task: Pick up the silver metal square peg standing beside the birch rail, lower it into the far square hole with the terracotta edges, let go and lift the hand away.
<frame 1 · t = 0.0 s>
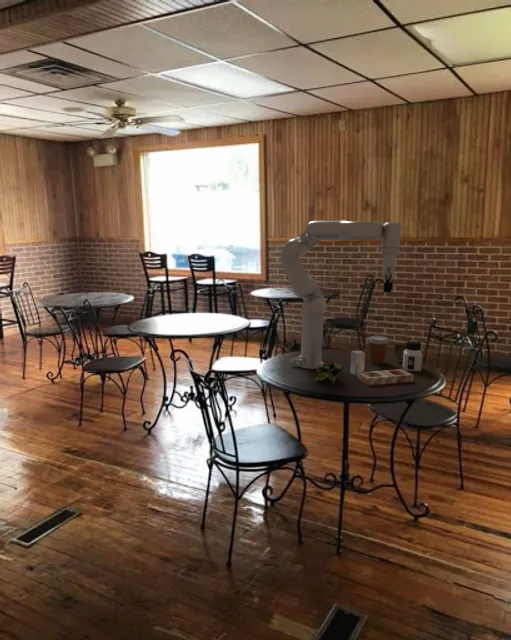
hand: (387, 290, 233), 37 cm above the table, tool pointing down, fingers open, 9 cm apart
rail: (384, 380, 229), on the table
peg: (356, 373, 238), on the table
cup: (400, 361, 259), on the table
container: (411, 369, 247), on the table
disposable coffee cup: (377, 362, 257), on the table
passion flower: (329, 382, 225), on the table
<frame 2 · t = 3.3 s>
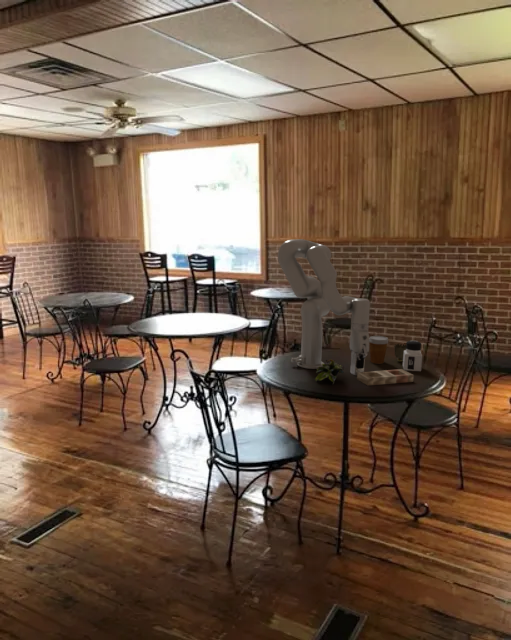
hand: (357, 366, 237), 3 cm above the table, tool pointing down, fingers closed on peg, 4 cm apart
peg: (356, 373, 238), on the table, touching gripper
everything else where it was.
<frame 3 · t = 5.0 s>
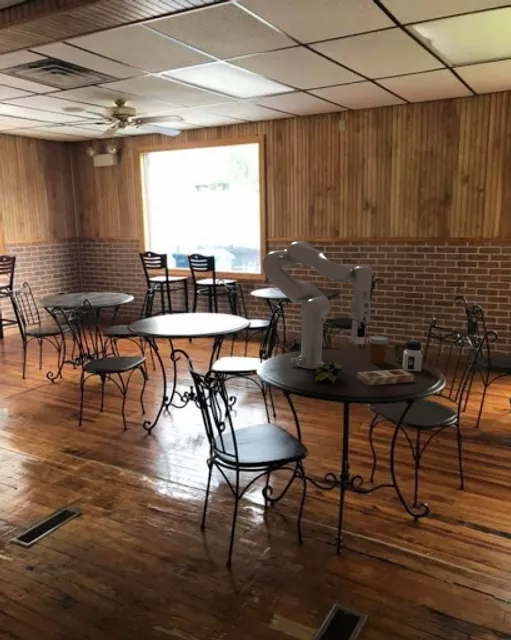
hand: (358, 335, 235), 18 cm above the table, tool pointing down, fingers closed on peg, 4 cm apart
peg: (357, 342, 235), point 14 cm above the table, touching gripper
everything else where it was.
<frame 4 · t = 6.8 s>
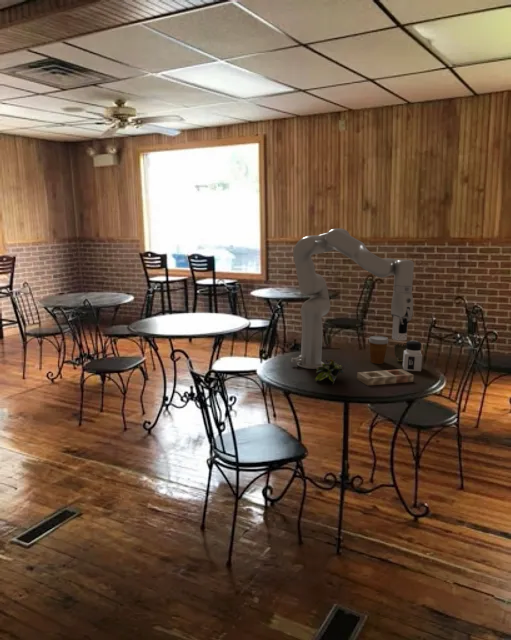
hand: (399, 331, 226), 21 cm above the table, tool pointing down, fingers closed on peg, 4 cm apart
peg: (399, 339, 227), point 18 cm above the table, touching gripper
everything else where it was.
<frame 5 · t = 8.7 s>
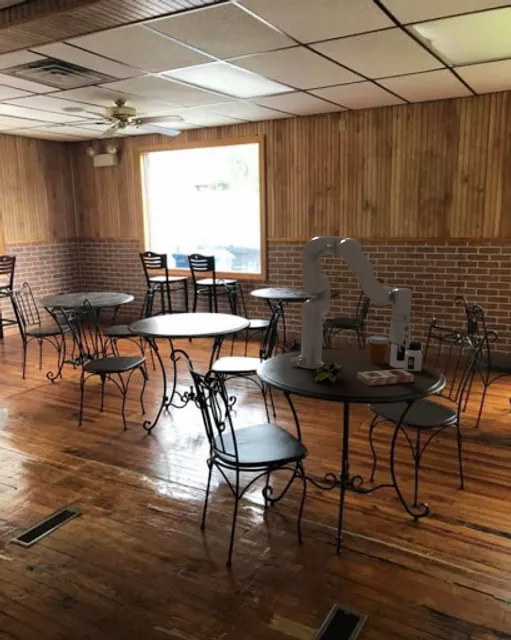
hand: (397, 358, 228), 9 cm above the table, tool pointing down, fingers closed on peg, 4 cm apart
peg: (397, 366, 229), point 6 cm above the table, touching gripper
everything else where it was.
when the fingers open (4 cm above the table, at t = 10.1 s): peg drops 1 cm, resting in rail.
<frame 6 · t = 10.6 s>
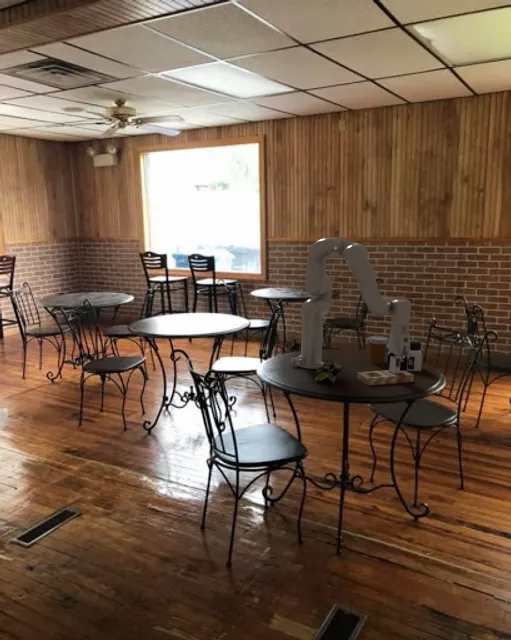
hand: (396, 367, 229), 5 cm above the table, tool pointing down, fingers open, 9 cm apart
peg: (396, 379, 230), resting in rail
everything else where it was.
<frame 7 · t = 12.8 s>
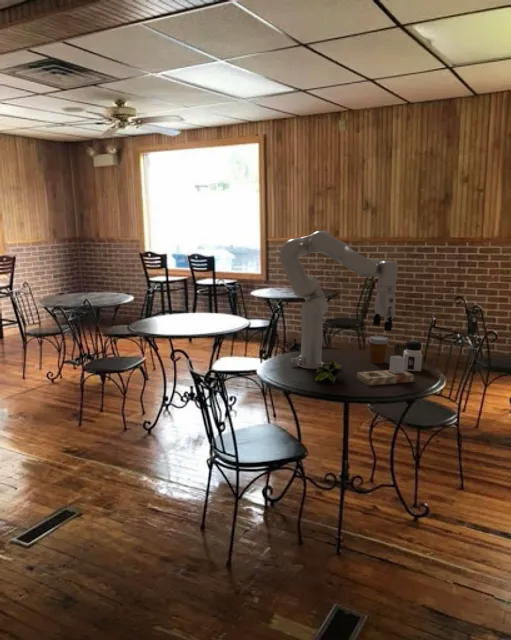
hand: (381, 327, 233), 21 cm above the table, tool pointing down, fingers open, 9 cm apart
nothing on the table moved.
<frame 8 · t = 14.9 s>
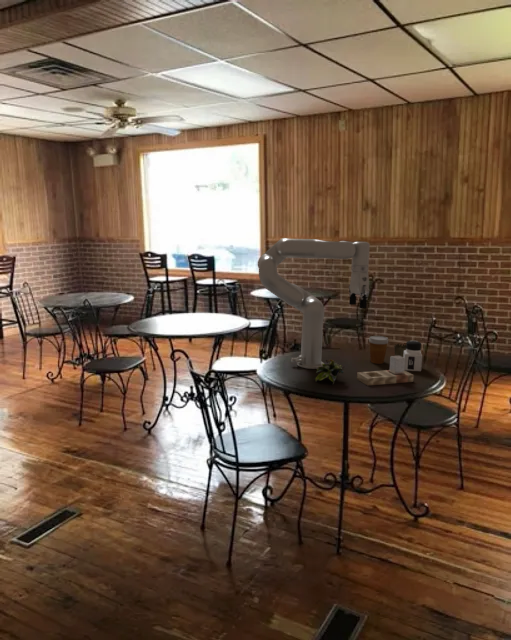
hand: (357, 306, 245), 28 cm above the table, tool pointing down, fingers open, 9 cm apart
nothing on the table moved.
at the end: peg 0.0 cm from the target spot on the rail, point 0.0 cm above the rail's base; peg tilted 0°; the gripper is holding nothing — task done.
